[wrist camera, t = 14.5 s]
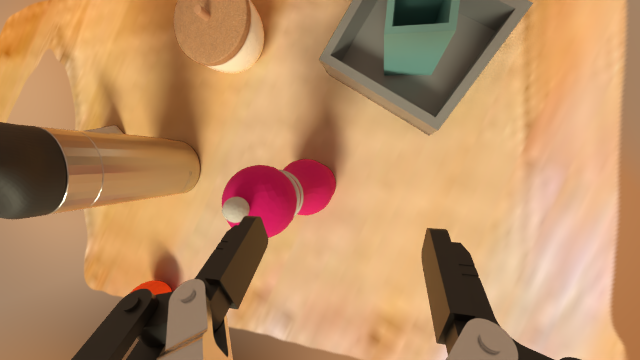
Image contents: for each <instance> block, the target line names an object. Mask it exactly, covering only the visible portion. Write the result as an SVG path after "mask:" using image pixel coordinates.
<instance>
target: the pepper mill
mask: <svg viewBox="0 0 640 360" xmlns="http://www.w3.org/2000/svg"><path fill="white" fill-rule="evenodd" d="M335 187H336V182H335V178H334V175H333V173H332V171H331V170H330V169H329V168H328V167H326V166H325V165H323V164H321V163H319V162H317V161H314V160H311V159H302V160H297V161H294V162H292V163H290V164H289V165H288V166H286V167H285V168H284V169H283V170H278V169H276V168H274V167H270V166H264V165H256V166H251V167H247V168H245V169H242V170H240V171H239V172H237V173H236V174H235V175H234V176H233V177H232V178H231V179H230V180H229V182H228V183H227V185H226V187H225V189H224V192H223V196H222V213H223V216H224V217H225V219H226V220H227V222H228V223H229V225H230V226H231V227H233V226H235V225H239V223H240V222H241V220H242V219H243V217H244V216H260V217H261V218H262V221H263V224H264V227H265V230H266V233H267V235H268V238H269V237H272V236H274V235H277V234H279V233H280V232H282V231H283V230H284V229H285V228H286V227H287V226H288V225H289V223H290V222H291V221H292V220H293V217H294V216H296V215H297V214H298V215H311V214H314V213H317V212H319V211H320V210H322V209H323V208H325V207H326V206H327V204H328V203H329V201H330V200H331V197H332V196H333V194H334V191H335Z"/></svg>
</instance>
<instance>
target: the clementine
mask: <svg viewBox="0 0 640 360" xmlns="http://www.w3.org/2000/svg"><path fill="white" fill-rule="evenodd" d="M138 289H148V290H150V291H151V292H152V293H153V294H154V295H157V294H162V293H167V292H172V290H171V288H170V287H169V286H168V285H167V284H166V283H164V282H161V281H149V282H145V283H143V284H141V285H139V286H138V287H136V288H135V289H133V291H136V290H138ZM133 291H132V292H133Z"/></svg>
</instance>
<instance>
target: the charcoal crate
mask: <svg viewBox="0 0 640 360" xmlns="http://www.w3.org/2000/svg"><path fill="white" fill-rule="evenodd" d="M387 1H388V0H353V1H352V3H351V4H350V6H349V8H348V10H347V11H346V13H345V15H344V16H343V18H342V20H341V22H340V23H339V25H338V27H337V29H336V30H335V32H334V34H333V36H332V37H331V39H330V41H329V42H328V44H327V46H326V48H325V49H324V51H323V53H322V55H321V56H320V58H319V60H320V62H321V63H322V65H323V66H324V68H325V69H326V71H327V73H328V74H329V75H331V76H332V77H334V78H336V79H337V80H339V81H340V82H342V83H344V84H345V85H347V86H349V87H350V88H352V89H354V90H355V91H357V92H359V93H360V94H362V95H363V96H365V97H367V98H368V99H370V100H372V101H373V102H375V103H377V104H378V105H380V106H382V107H383V108H385V109H386V110H388V111H390V112H391V113H393V114H395V115H396V116H398V117H400V118H401V119H403V120H405V121H406V122H408V123H409V124H411V125H413V126H414V127H416V128H418V129H419V130H421V131H423V132H424V133H426V134H428V135H431V134H433V133H434V132H436V131H438V130H439V128H440V127H441V126H442V124H443V123H444V122H445V120H446V119H447V118H448V116H449V115H450V114H451V112H452V111H453V110H454V108H455V107H456V106H457V104H458V103H459V102H460V100H461V99H462V98H463V96H464V95H465V94H466V92H467V91H468V90H469V88H470V87H471V86H472V84H473V83H474V82H475V80H476V79H477V78H478V76H479V75H480V74H481V72H482V71H483V70H484V68H485V67H486V66H487V64H488V63H489V61H490V60H491V59H492V57H493V56H494V55H495V53H496V52H497V51H498V49H499V48H500V47H501V45H502V44H503V43H504V41H505V40H506V39H507V37H508V36H509V35H510V33H511V32H512V31H513V29H514V28H515V27H516V25H517V24H518V23H519V21H520V20H521V19H522V17H523V16H524V15H525V13H526V12H527V11H528V9H529V8H530V7H531V5H532V4H533V3H532V2H530V1H528V0H460V3H459V11H458V19H457V26H456V31H455V33H454V35H453V36H452V38H451V40H450V42H449V44H448V46H447V47H446V49H445V51H444V53H443V55H442V57H441V58H440V60H439V62H438V64H437V66H436V67H435V69H434V71H433V73H432V75H390V76H384V30H385V20H386V11H387Z"/></svg>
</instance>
